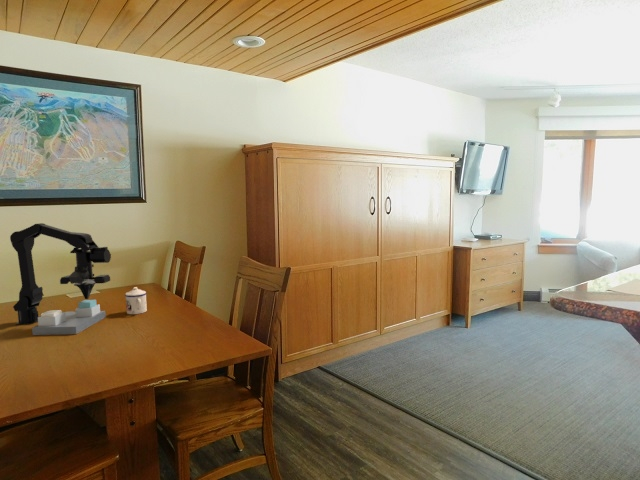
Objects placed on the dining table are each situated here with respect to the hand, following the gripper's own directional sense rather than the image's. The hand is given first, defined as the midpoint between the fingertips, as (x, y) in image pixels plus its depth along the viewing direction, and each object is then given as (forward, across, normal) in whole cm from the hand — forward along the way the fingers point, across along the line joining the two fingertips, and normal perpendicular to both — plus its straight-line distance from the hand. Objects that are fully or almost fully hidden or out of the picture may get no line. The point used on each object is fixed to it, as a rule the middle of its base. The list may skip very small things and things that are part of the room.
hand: (86, 299), depth 180 cm
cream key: (+5, -8, -12) cm, 15 cm away
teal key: (+4, 0, 0) cm, 4 cm away
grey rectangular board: (+10, -4, -6) cm, 12 cm away
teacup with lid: (+10, +16, +12) cm, 22 cm away
